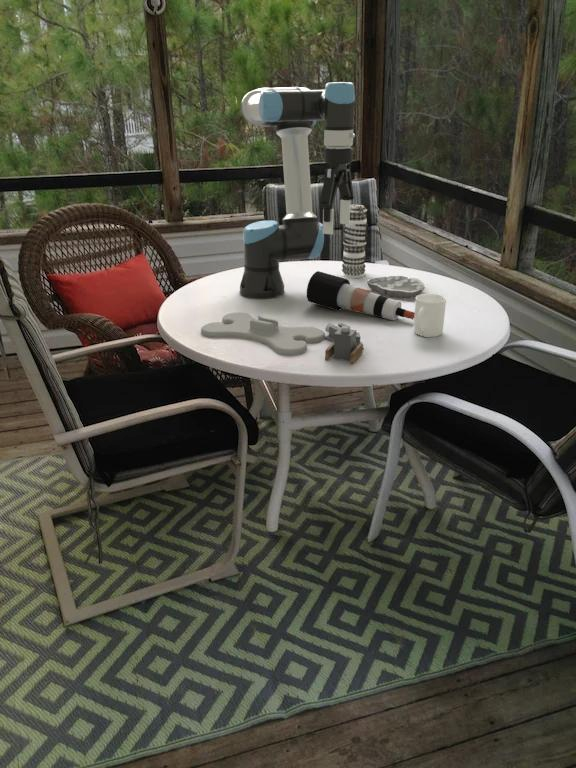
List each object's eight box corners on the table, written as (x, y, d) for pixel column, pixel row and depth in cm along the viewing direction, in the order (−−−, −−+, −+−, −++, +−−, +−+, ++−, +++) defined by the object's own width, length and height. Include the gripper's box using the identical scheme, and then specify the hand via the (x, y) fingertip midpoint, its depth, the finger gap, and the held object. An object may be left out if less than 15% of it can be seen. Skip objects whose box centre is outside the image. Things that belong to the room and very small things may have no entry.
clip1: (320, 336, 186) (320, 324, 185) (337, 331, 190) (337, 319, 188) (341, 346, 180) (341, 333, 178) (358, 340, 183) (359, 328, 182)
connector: (350, 361, 170) (351, 331, 167) (333, 358, 172) (334, 329, 168) (355, 354, 174) (356, 325, 171) (339, 352, 176) (340, 323, 172)
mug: (429, 344, 180) (432, 308, 176) (402, 337, 185) (404, 302, 180) (447, 331, 189) (450, 296, 185) (420, 325, 194) (423, 291, 189)
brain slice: (435, 290, 225) (435, 282, 223) (410, 303, 213) (411, 294, 211) (385, 280, 236) (385, 272, 235) (359, 292, 224) (359, 283, 223)
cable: (406, 339, 196) (405, 315, 188) (309, 308, 211) (304, 285, 203) (420, 316, 201) (420, 292, 193) (324, 287, 216) (320, 264, 208)
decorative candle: (367, 271, 245) (370, 203, 234) (364, 278, 237) (367, 208, 226) (343, 270, 247) (345, 202, 236) (339, 277, 239) (341, 207, 228)
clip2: (338, 343, 181) (339, 331, 180) (361, 343, 181) (362, 330, 180) (339, 350, 177) (340, 338, 175) (363, 350, 176) (364, 338, 175)
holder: (295, 359, 173) (295, 341, 171) (195, 335, 189) (193, 318, 187) (330, 336, 187) (331, 320, 185) (234, 316, 204) (233, 300, 202)
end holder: (325, 359, 171) (325, 349, 170) (335, 349, 178) (335, 339, 176) (353, 364, 168) (353, 354, 167) (362, 353, 175) (363, 343, 174)
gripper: (335, 152, 160) (333, 239, 169) (366, 142, 181) (363, 220, 190) (307, 151, 163) (306, 237, 172) (340, 142, 183) (338, 218, 192)
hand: (336, 228), depth 181 cm, fingers open, 13 cm apart
